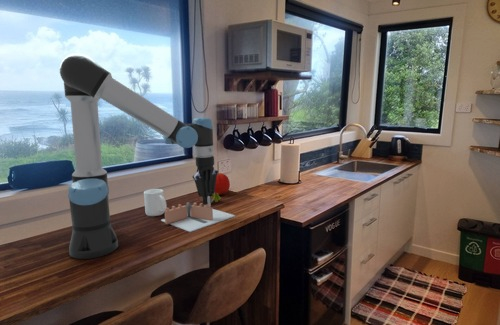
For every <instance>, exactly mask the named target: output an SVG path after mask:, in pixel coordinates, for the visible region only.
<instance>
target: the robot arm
mask: <svg viewBox="0 0 500 325" xmlns="http://www.w3.org/2000/svg"><path fill="white" fill-rule="evenodd" d="M59 74H60V78H61V79H62V81H63V89H64V90H63V91H64V97H65V98H66V99H67V100H68V101H69V102H70V111H71V123H72V133H73V134H72V136H73V145H74V146H73V147H74V157H75V158H74V159H75V171H73V173H72V174H71V179H72V180H71V181H72V183H71V184H69V186H68V189H67V190H68V192H67V196H68V199H69V209H70V217H71V226H72V233H71V238H70V242H69V246H68V252H69V253H68V254H69V256H70V257H71V258H74V259H78V260H88V259H96V258H100V257H103V256H106V255H109V254H111V253H113V252H114V251H116V250H117V249H118V248H119V241H118V237H117V235H116V233H115V231H114V228H113V227H112V224H111V214H110V204H109V202H110V201H109V193H110V188H109V181H108V171H107V170H106V169H104V168H103V160H102V159H103V158H102V150H101V149H102V148H101V146H102V145H101V136H100V135H101V133H100V123H99V122H100V120H99V108H98V102H99V100H100V99H101V100H103V101H105V102H106V103H108V104H109V105H111V106H113V107H115V108H116V109H118V110H120V111H122V112H123V113H124V114H125V115H126V114H127V115H128V116H130V117H131V118H133V119H135V120H136V121H138V122H140V123H142V124H144V125H145V126H147V127H148V128H150V129H151V130H153V131H156V133H159V134H160V135H162V137H163V141H164V144H166V145H178V146H179V147H181V148H184V149H189V148H192V147H194V155H195V166H196V168H197V169H196V173H195V174H193V175H192V176H191V177H192V179H193V180H194V184H195V187H196V190H197V194H198V196H199V197H202V203H203V206H206V204H209V207H212V205H211V204H212V202H211V196H213V195H212V194H214V193H215V185H216V177H217V174H219V170H217V169H215V167H214V165H215V156H214V155H215V151H214V150H215V149H214V129H213V120H212V118H210V117H195V118H193V120H192V122H191V123H184V122H183V121H181V120H179V119H178V118H177V117H175V116H173V115H172V114H170V113H168V112H167V111H165V110H164V109H162V108H161V107H159V106H157V105H156V104H154V103H153V102H152V101H149V100H148V99H146V98H145V97H144V96H142V95H140V94H139V93H137V92H135V91H133V90H132V89H131V88H129V87H127V86H126V85H124V84H123V83H121V82H120V81H118V80H116V79H114V78H113V76H112V73H111V72H109V71H108V70H107V69H105V68H103V67H102V66H101V65H100V64H98V63H97V62H96V61H95V60H94V59H92V58H91V57H90V56H88V55H86V54H82V53H71V54H69V55H67V56H66V57H64V59H62V61H61V63H60V65H59Z"/></svg>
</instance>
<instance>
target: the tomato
mask: <svg viewBox="0 0 500 325" xmlns="http://www.w3.org/2000/svg"><path fill="white" fill-rule="evenodd" d="M230 185H231V183H230V179H229V177H228V176H227V175H226V174H225V173H222V172H218V174H217V177H216V185H215V194H216V193H218V194H219V196H221V195H225V194H227V192H228V191H229V190H230Z"/></svg>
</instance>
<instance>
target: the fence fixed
mask: <svg viewBox="0 0 500 325" xmlns="http://www.w3.org/2000/svg"><path fill="white" fill-rule="evenodd" d="M190 205H191V202H188V201H187V202H186V205H182V204H180V203H178V204H177V207H176V206H175V205H172V206H171V209H170V208H169V207H166V210H165V211H164V219H165V222H164V224H165V225H170V224H169V223H172V222H175V221H179V220H182V219H185V218H187V217H191V212H190V211H191V208H189V206H190Z"/></svg>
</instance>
